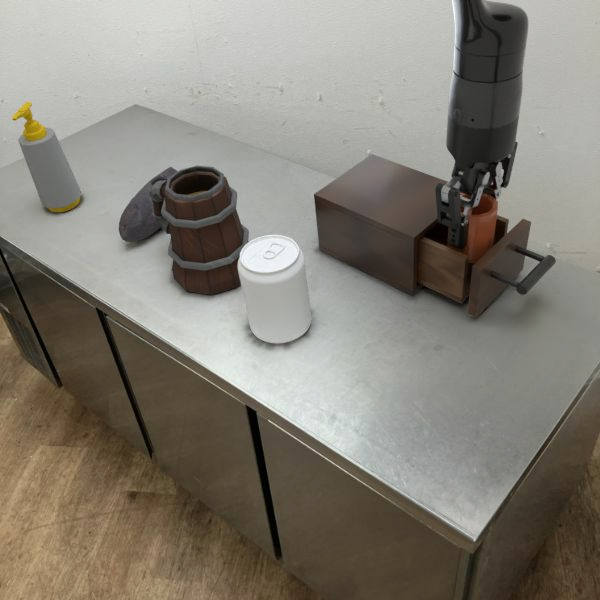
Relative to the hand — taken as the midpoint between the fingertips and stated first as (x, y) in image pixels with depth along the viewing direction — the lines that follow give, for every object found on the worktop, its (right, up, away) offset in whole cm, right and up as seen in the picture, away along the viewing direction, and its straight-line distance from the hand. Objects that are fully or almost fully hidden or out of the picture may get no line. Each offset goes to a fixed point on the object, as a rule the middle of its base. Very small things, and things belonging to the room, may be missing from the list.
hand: (471, 233), depth 81 cm
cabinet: (-8, -1, +13) cm, 15 cm away
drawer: (0, -5, +5) cm, 7 cm away
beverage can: (-24, -12, +4) cm, 27 cm away
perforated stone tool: (-45, +4, +23) cm, 50 cm away
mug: (-36, -3, +14) cm, 39 cm away
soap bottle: (-62, +8, +31) cm, 70 cm away
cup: (0, -2, +2) cm, 3 cm away
